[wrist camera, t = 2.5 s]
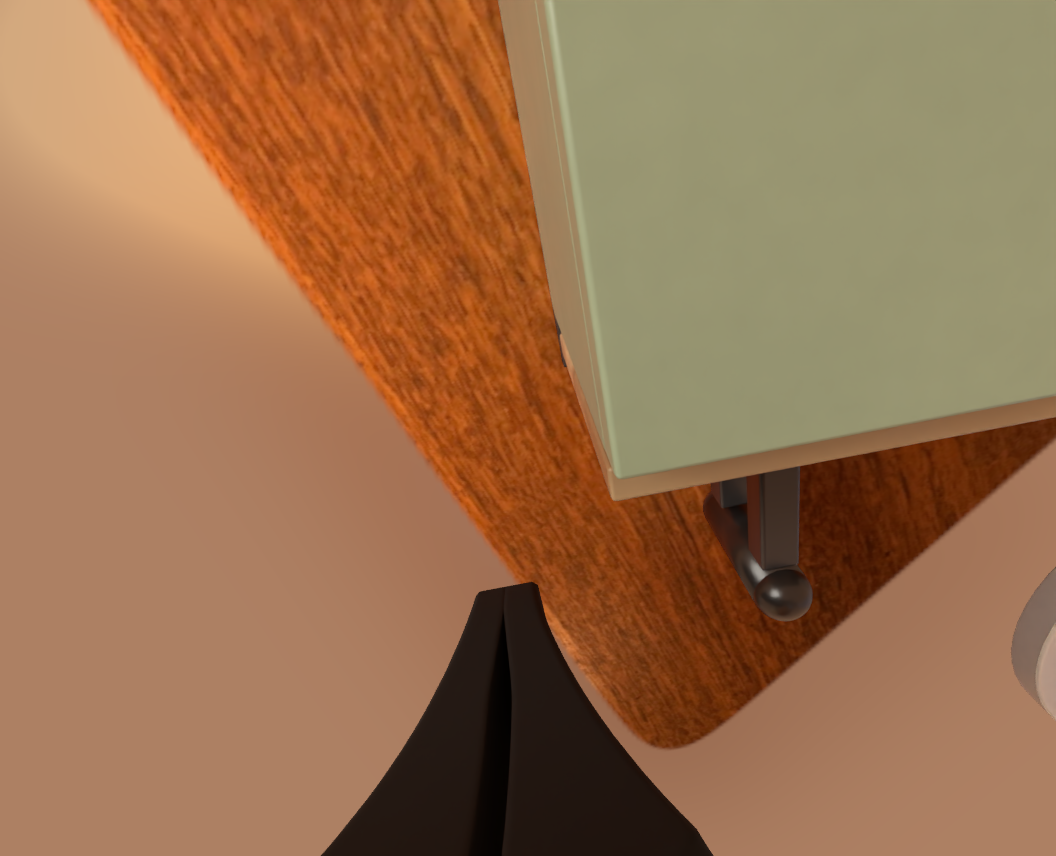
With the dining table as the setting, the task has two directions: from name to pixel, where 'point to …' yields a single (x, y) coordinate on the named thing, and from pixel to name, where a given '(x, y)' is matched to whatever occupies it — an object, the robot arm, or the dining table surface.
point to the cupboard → (791, 213)
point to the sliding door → (784, 492)
